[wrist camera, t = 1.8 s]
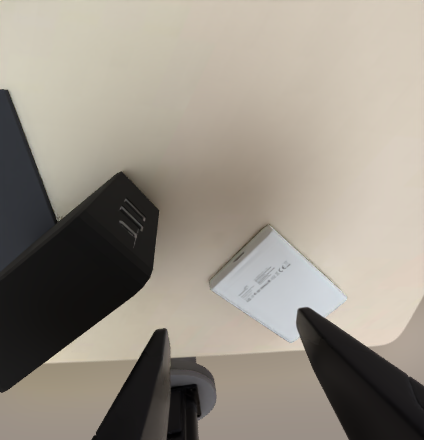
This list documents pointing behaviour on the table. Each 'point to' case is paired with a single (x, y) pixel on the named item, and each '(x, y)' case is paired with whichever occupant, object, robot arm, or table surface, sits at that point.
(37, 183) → the mat
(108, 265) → the electronic device
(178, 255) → the table surface
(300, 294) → the hard drive
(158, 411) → the robot arm
